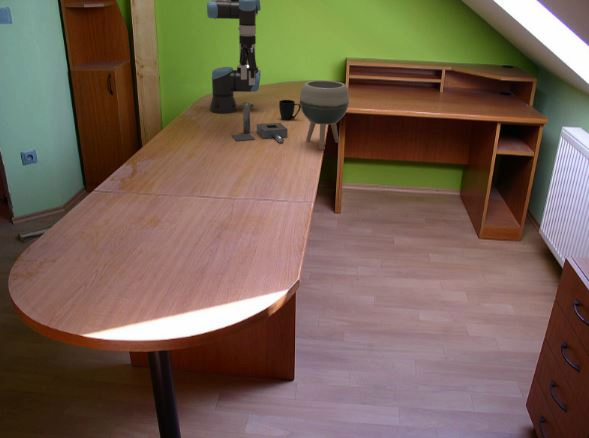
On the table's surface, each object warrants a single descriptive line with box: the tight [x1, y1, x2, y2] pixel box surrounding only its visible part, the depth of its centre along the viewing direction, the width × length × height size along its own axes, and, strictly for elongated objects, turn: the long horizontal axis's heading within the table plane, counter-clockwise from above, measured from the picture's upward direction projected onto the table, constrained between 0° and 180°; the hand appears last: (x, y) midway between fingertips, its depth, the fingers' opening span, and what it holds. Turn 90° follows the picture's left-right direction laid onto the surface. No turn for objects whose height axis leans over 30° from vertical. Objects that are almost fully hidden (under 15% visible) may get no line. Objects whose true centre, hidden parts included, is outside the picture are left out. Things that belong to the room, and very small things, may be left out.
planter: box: [299, 79, 350, 151], centre depth 247 cm, size 22×22×28 cm
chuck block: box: [256, 122, 288, 144], centre depth 260 cm, size 21×12×4 cm, turn 20°
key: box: [239, 102, 254, 134], centre depth 263 cm, size 3×6×14 cm, turn 110°
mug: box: [278, 99, 301, 121], centre depth 290 cm, size 8×12×10 cm
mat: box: [231, 133, 256, 142], centre depth 258 cm, size 9×9×1 cm
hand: (247, 82), depth 256 cm, fingers open, 13 cm apart
